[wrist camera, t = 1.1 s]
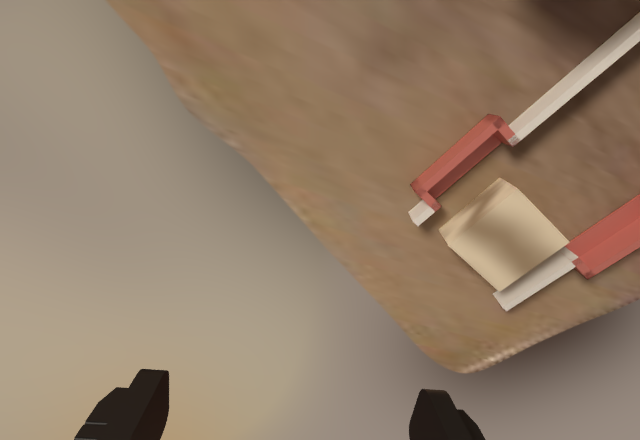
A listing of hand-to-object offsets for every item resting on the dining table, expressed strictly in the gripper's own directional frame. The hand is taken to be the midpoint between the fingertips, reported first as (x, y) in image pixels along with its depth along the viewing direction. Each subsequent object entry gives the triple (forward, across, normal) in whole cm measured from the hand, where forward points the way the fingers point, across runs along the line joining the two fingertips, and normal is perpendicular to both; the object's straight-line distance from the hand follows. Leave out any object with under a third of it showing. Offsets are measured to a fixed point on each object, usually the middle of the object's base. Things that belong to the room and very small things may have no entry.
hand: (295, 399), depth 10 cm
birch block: (+24, -21, 0) cm, 32 cm away
